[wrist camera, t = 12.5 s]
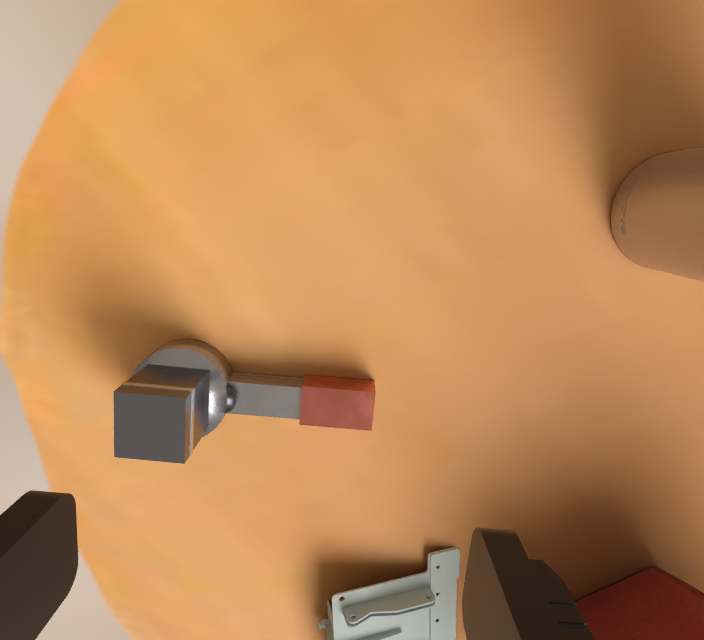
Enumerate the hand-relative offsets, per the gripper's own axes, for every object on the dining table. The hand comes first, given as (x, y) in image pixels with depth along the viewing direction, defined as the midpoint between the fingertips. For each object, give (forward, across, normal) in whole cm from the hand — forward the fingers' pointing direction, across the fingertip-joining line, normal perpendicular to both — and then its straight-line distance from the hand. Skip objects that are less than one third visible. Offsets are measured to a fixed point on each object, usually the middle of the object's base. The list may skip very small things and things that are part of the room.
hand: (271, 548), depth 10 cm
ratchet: (+33, +7, +10) cm, 35 cm away
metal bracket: (+34, -8, +32) cm, 48 cm away
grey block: (+30, +12, +10) cm, 34 cm away
